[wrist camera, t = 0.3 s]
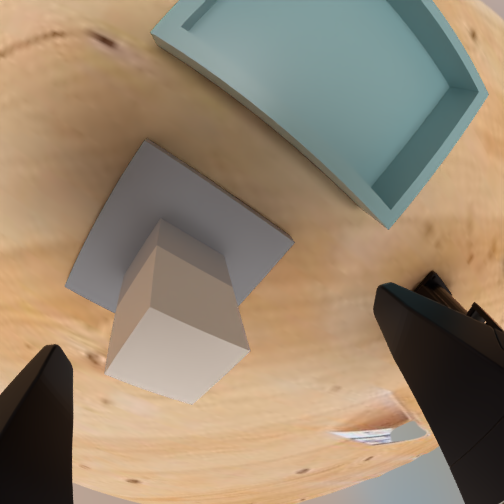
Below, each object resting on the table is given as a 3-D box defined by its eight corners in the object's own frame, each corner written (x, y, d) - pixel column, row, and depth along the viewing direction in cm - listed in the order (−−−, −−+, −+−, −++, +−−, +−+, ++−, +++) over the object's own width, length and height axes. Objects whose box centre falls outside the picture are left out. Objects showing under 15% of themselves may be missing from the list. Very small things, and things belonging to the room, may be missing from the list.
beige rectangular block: (224, 256, 21) (250, 350, 13) (184, 305, 22) (192, 404, 15) (160, 217, 18) (149, 306, 11) (123, 275, 20) (104, 374, 12)
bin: (453, 87, 18) (488, 94, 15) (359, 207, 22) (388, 229, 19) (300, -79, 10) (323, -104, 7) (157, 45, 14) (150, 32, 11)
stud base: (290, 236, 22) (311, 266, 19) (197, 341, 25) (201, 379, 22) (146, 138, 17) (136, 150, 13) (68, 278, 20) (51, 314, 16)
